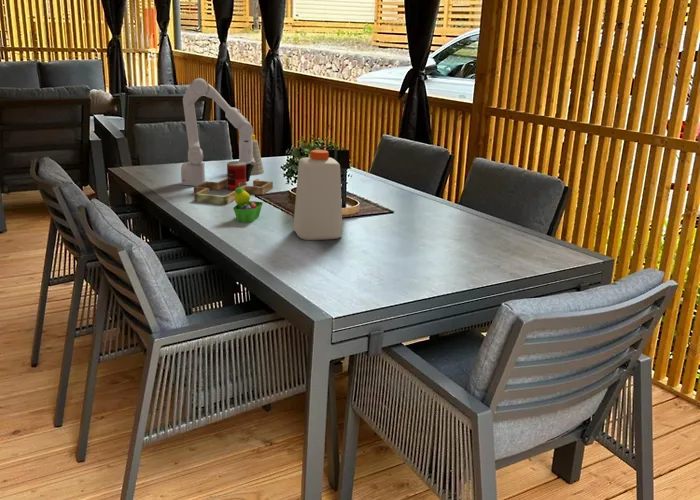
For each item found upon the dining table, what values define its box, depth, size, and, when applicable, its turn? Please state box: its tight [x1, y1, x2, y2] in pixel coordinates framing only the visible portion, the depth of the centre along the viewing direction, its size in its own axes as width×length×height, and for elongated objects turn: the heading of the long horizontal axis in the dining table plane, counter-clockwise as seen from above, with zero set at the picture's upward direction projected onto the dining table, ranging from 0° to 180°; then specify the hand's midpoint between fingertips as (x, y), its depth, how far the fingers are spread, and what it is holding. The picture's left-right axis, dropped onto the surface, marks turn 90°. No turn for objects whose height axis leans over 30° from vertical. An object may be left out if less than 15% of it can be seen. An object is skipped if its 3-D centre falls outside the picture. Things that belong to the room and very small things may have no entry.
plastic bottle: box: [292, 149, 343, 241], centre depth 218 cm, size 15×15×28 cm
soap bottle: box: [250, 132, 265, 176], centre depth 308 cm, size 12×12×20 cm
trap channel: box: [193, 177, 274, 206], centre depth 270 cm, size 26×34×3 cm
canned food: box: [226, 160, 247, 192], centre depth 277 cm, size 8×8×11 cm
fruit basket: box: [232, 187, 264, 223], centre depth 235 cm, size 11×9×11 cm
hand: (246, 181), depth 289 cm, fingers closed
